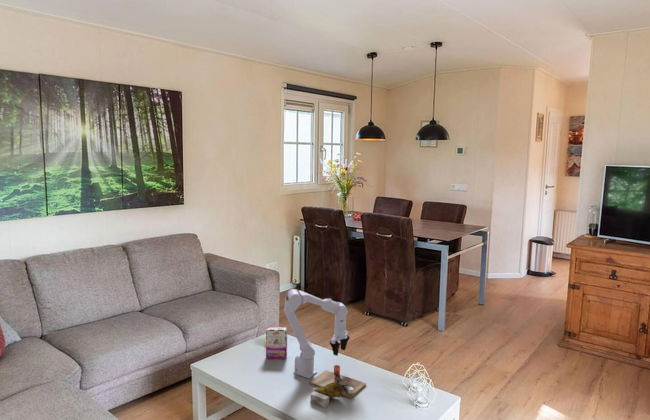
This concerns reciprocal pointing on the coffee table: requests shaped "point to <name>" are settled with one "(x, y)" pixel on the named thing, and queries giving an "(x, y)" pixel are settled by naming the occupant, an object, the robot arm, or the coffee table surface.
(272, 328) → the candy bar box
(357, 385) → the board
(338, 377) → the lever
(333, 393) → the potato
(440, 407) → the coffee table surface
